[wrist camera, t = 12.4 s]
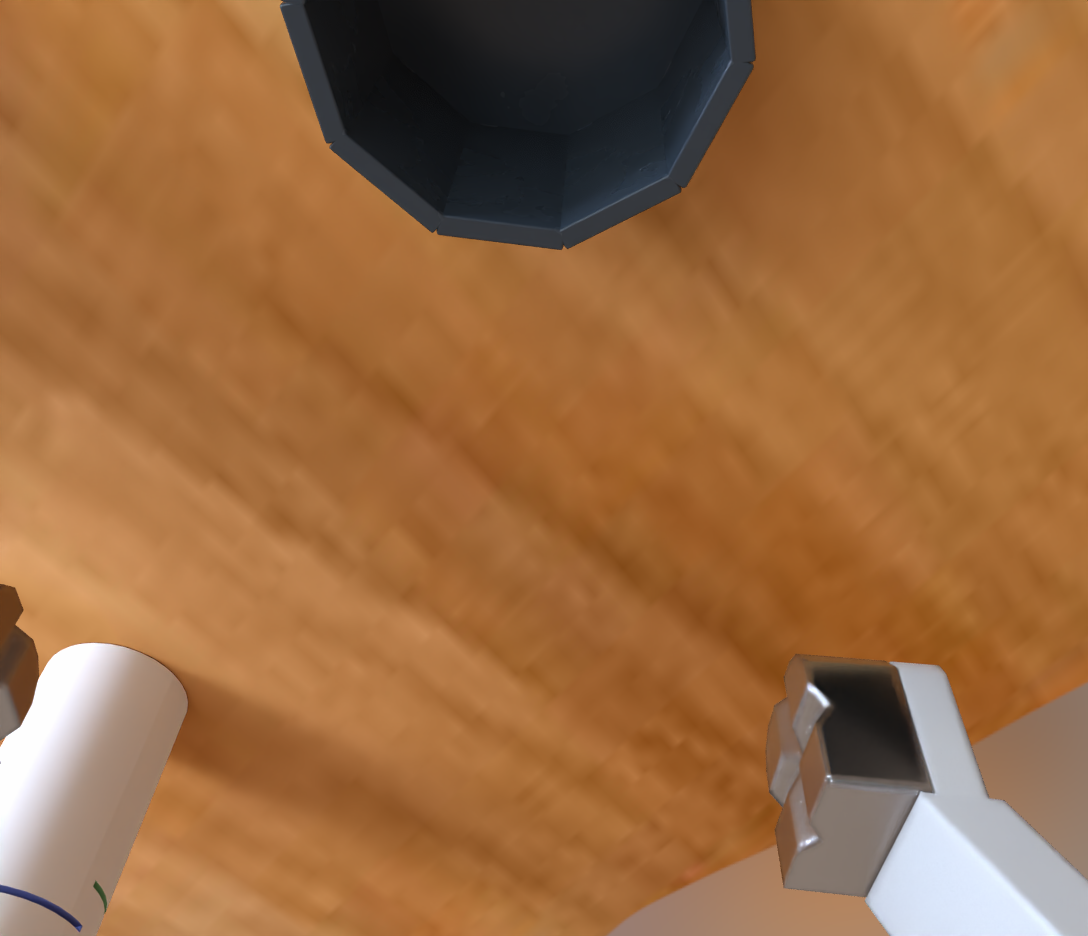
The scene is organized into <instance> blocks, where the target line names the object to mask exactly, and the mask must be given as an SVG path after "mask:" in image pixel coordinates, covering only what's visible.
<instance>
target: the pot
mask: <svg viewBox="0 0 1088 936" xmlns="http://www.w3.org/2000/svg"><path fill="white" fill-rule="evenodd" d="M282 1H283V2H282V3H281V4H280V9H281V12H282V15H283V18H284V20H285V23H286V26H287V29H288V32H289V35H290V38H291V41H292V44H293V47H294V50H295V53H296V56H297V59H298V62H299V65H300V68H301V71H302V74H303V77H304V79H305V82H306V85H307V88H308V91H309V94H310V97H311V100H312V103H313V106H314V109H315V112H316V115H317V118H318V121H319V124H320V127H321V130H322V133H323V136H324V139H325V141H326V143H331V145H330V147H329V148H330V149H331V150H332V151H333V152H334V153H336V154H337V155H338V156H339V157H341V158H342V159H343V160H344V161H345V162H347V163H348V164H349V165H350V166H352V167H353V168H354V169H355V170H356V171H358V172H359V173H360V174H361V175H362V176H364V177H365V178H366V179H367V180H369V181H370V182H371V183H372V184H373V185H375V186H376V187H377V188H378V189H379V190H381V191H382V192H383V193H384V194H386V195H387V196H388V197H389V198H390V199H392V200H393V201H394V202H395V203H397V204H398V205H399V206H400V207H401V208H403V209H404V210H405V211H406V212H407V213H409V214H410V215H411V216H412V217H414V218H415V219H416V220H417V221H418V222H420V223H421V224H422V225H423V226H425V227H426V228H427V229H428V230H429V231H431V232H432V233H433V232H434V231H435V230H436V229H437V234H438V235H444V236H452V237H460V238H468V239H476V240H484V241H493V242H501V243H509V244H517V245H525V246H533V247H541V248H549V249H557V250H562V249H563V245H564V246H565V247H566V248H567V249H569V248H571V247H573V246H575V245H577V244H579V243H581V242H583V241H585V240H587V239H589V238H591V237H593V236H595V235H597V234H599V233H601V232H603V231H605V230H607V229H609V228H611V227H613V226H615V225H617V224H619V223H621V222H623V221H625V220H627V219H629V218H631V217H633V216H635V215H637V214H639V213H641V212H643V211H645V210H647V209H649V208H651V207H653V206H655V205H657V204H659V203H661V202H663V201H665V200H667V199H669V198H671V197H673V196H675V195H677V194H679V193H680V192H681V187H682V188H685V187H687V185H688V183H689V181H690V180H691V178H692V176H693V174H694V173H695V171H696V169H697V167H698V166H699V164H700V162H701V160H702V158H703V157H704V155H705V153H706V151H707V150H708V148H709V146H710V144H711V142H712V141H713V139H714V137H715V135H716V134H717V132H718V130H719V128H720V127H721V125H722V123H723V121H724V119H725V118H726V116H727V114H728V112H729V111H730V109H731V107H732V105H733V104H734V102H735V100H736V98H737V96H738V95H739V93H740V91H741V89H742V88H743V86H744V84H745V82H746V81H747V79H748V77H749V75H750V73H751V72H752V70H753V68H754V65H753V61H755V59H756V54H755V42H754V30H753V18H752V6H751V0H282Z"/></svg>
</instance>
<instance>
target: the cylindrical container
mask: <svg viewBox="0 0 1088 936" xmlns="http://www.w3.org/2000/svg"><path fill="white" fill-rule="evenodd" d="M187 708H188V700H187V695H186V692H185V690H184V688H183V686H182V684H181V683H180V681H179V680H178V679H177V678H176V676H175V675H174V674H173V673H172V672H170V671H169V670H168V669H167V668H166V667H165V666H163V665H162V664H160V663H159V662H157V661H156V660H154V659H152V658H150V657H148V656H146V655H144V654H142V653H140V652H138V651H135V650H132V649H129V648H126V647H122V646H117V645H112V644H103V643H85V644H78V645H74V646H70V647H68V648H65V649H63V650H61V651H60V652H58V653H57V654H55V655H54V656H53V657H52V658H51V660H50V661H49V662H48V664H47V665H46V667H45V669H44V671H43V673H42V674H41V676H40V678H39V680H38V683H37V687H36V691H35V695H34V699H33V703H32V706H31V707H30V709H29V711H28V713H27V715H26V717H25V719H24V721H23V723H22V725H21V727H20V728H18V729H17V730H15V731H14V732H12V733H11V734H9V735H8V736H7V737H6V739H5V740H4V742H3V744H2V746H1V747H0V762H1V764H0V936H96V935H97V932H98V930H99V927H100V925H101V922H102V920H103V917H104V914H105V912H106V910H107V908H108V905H109V903H110V900H111V898H112V895H113V893H114V890H115V888H116V885H117V883H118V880H119V878H120V876H121V873H122V871H123V868H124V866H125V863H126V861H127V858H128V856H129V853H130V851H131V848H132V846H133V843H134V841H135V839H136V836H137V834H138V831H139V829H140V826H141V824H142V821H143V819H144V816H145V814H146V811H147V809H148V807H149V804H150V802H151V799H152V797H153V794H154V792H155V789H156V787H157V784H158V782H159V779H160V777H161V774H162V772H163V770H164V767H165V765H166V762H167V760H168V757H169V755H170V752H171V750H172V747H173V745H174V742H175V740H176V737H177V735H178V733H179V730H180V728H181V725H182V723H183V720H184V718H185V715H186V713H187Z"/></svg>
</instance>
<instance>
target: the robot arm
mask: <svg viewBox="0 0 1088 936" xmlns="http://www.w3.org/2000/svg"><path fill="white" fill-rule="evenodd" d="M22 612H23V607H22V604H21V602H20V599H19V597H18V594H17V591H16V589H15V588H14V587H11V586H7V585H4V584H0V740H2V739H3V738H5V737H6V736H8V735H9V734H11V733H12V732H14V731H15V730H17V729H18V728H20V727H21V725H22V723H23V721H24V719H25V717H26V715H27V713H28V711H29V709H30V707H31V706H32V703H33V699H34V695H35V691H36V687H37V683H38V678H39V665H38V654H37V651H36V647H35V644H34V641H33V639H32V638H30V637H29V636H28V635H27V634H26V633H24V632H23V631H22V630H21V629H20V628H18V627H17V626H16V625H15V624H16V622H17V621H18V619H19V617H20V615H21V614H22ZM784 682H785V688H786V694H787V697H786V698H785V699H783V700H782V701H780V702H779V703H777V704H775V705H774V708H773V712H772V715H771V719H770V722H769V725H768V733H767V742H766V772H767V780H768V787H769V793H770V794H771V795H772V796H773V797H774V798H775V799H776V801H777V802H778V803H779V804H780V805H781V806H782V807H783V808H782V811H781V814H780V817H779V819H778V822H777V825H776V828H775V835H776V841H777V848H778V854H779V861H780V867H781V873H782V880H783V886H784V888H788V889H797V890H806V891H815V892H824V893H833V894H842V895H851V896H860V897H866V899H865V902H866V904H867V905H868V907H869V908H870V909H871V910H872V912H873V914H874V915H875V916H876V918H877V919H878V920H879V922H880V923H881V924H882V926H883V927H884V929H885V930H886V931H887V933H888V934H889V936H1088V880H1087V879H1086V878H1085V877H1084V876H1083V875H1082V874H1081V873H1080V872H1079V871H1078V870H1077V869H1076V868H1075V867H1074V866H1073V865H1071V863H1069V862H1068V861H1067V860H1066V859H1065V858H1064V857H1063V856H1062V855H1061V854H1060V853H1059V852H1058V851H1057V850H1056V849H1055V848H1054V847H1053V846H1052V845H1050V843H1049V842H1047V841H1046V840H1045V839H1044V838H1043V837H1042V836H1041V835H1040V834H1039V833H1038V832H1037V831H1036V830H1035V829H1034V828H1033V827H1032V826H1031V825H1030V824H1028V822H1026V821H1025V820H1024V819H1023V818H1022V817H1021V816H1020V815H1019V814H1018V813H1017V812H1016V811H1015V810H1014V809H1013V808H1012V807H1011V806H1010V805H1009V804H1008V803H1006V801H1005V800H999V799H991V798H989V795H988V793H987V790H986V787H985V784H984V781H983V778H982V775H981V773H980V769H979V767H978V764H977V761H976V758H975V755H974V752H973V749H972V747H971V744H970V741H969V738H968V735H967V732H966V729H965V726H964V724H963V721H962V718H961V715H960V712H959V709H958V706H957V703H956V701H955V698H954V695H953V692H952V689H951V686H950V683H949V680H948V678H947V675H946V673H945V672H944V671H943V670H942V669H941V667H940V666H938V665H926V664H914V663H902V662H889V663H888V662H887V661H882V660H869V659H856V658H843V657H831V656H818V655H805V654H795V655H794V656H793V658H792V659H791V660H790V661H789V664H788V667H787V670H786V672H785V675H784ZM0 764H1V762H0Z"/></svg>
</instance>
